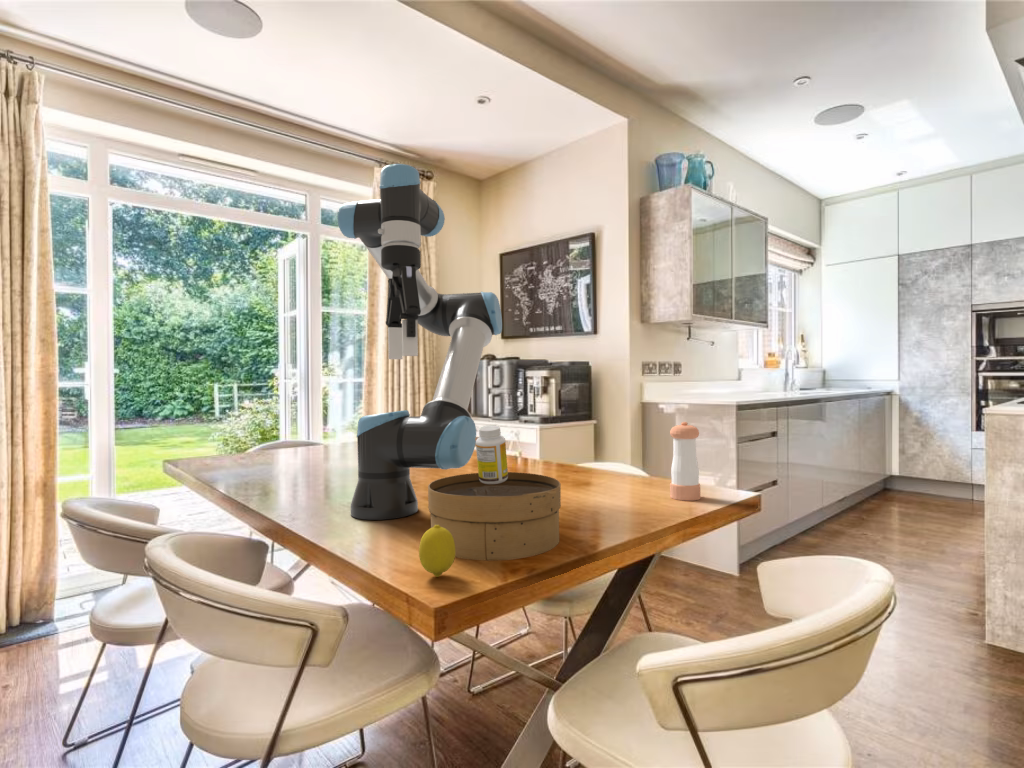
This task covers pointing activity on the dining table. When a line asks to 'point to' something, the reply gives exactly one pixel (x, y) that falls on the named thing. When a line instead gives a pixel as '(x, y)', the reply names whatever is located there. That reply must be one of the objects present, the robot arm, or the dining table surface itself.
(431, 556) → the lemon
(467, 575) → the dining table surface
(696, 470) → the pepper shaker
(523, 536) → the steamer basket
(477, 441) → the supplement bottle
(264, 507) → the dining table surface
